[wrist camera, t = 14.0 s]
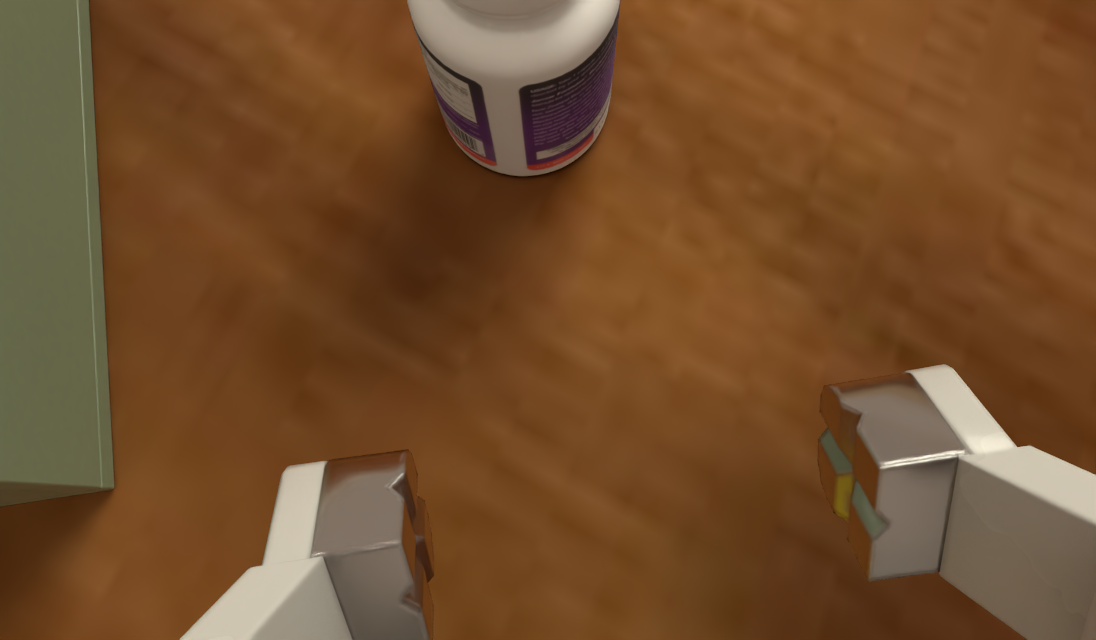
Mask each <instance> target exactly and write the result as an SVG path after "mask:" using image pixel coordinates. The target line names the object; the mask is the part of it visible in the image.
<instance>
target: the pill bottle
mask: <svg viewBox="0 0 1096 640" xmlns="http://www.w3.org/2000/svg"><path fill="white" fill-rule="evenodd" d="M407 1H408V6H409V10H410V15H411V18H412V22H413V25H414V29H415V31H416V35H417V38H418V41H419V44H420V47H421V50H422V54H423V57H424V60H425V63H426V67H427V70H428V73H429V77H430V80H431V83H432V86H433V89H434V92H435V96H436V98H437V102H438V104H439V108H440V111H441V114H442V117H443V119H444V122H445V124H446V127H447V129H448V131H449V133H450V135H451V136H452V138H453V139H454V141H455V142H456V144H457V145H458V146H459V147H460V148H461V150H462V151H463V152H464V153H465V154H467V155H468V156H469V157H470V158H471V159H473V160H474V161H476V162H477V163H479V164H480V165H482V166H484V167H486V168H488V169H491V170H493V171H496V172H499V173H503V174H508V175H514V176H533V175H540V174H545V173H549V172H552V171H555V170H557V169H560V168H562V167H564V166H566V165H568V164H570V163H571V162H573V161H575V160H576V159H577V158H579V157H580V156H581V155H582V154H583V153H584V152H585V151H586V150H588V148H589V147H590V146H591V145H592V144H593V142H594V141H595V140H596V138H597V137H598V135H599V133H600V131H601V129H602V127H603V125H604V123H605V120H606V117H607V112H608V108H609V103H610V97H611V88H612V76H613V65H614V55H615V46H616V37H617V27H618V18H619V8H620V0H407Z"/></svg>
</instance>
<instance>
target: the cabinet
mask: <svg viewBox="0 0 1096 640" xmlns="http://www.w3.org/2000/svg"><path fill="white" fill-rule="evenodd" d="M112 489H114V471H113V452H112V433H111V414H110V395H109V376H108V357H107V339H106V320H105V301H104V282H103V263H102V244H101V225H100V206H99V187H98V168H97V149H96V130H95V111H94V92H93V73H92V54H91V35H90V16H89V0H0V507H1V506H8V505H14V504H21V503H28V502H34V501H41V500H47V499H54V498H60V497H67V496H73V495H80V494H86V493H93V492H99V491H106V490H112Z"/></svg>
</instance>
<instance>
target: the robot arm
mask: <svg viewBox="0 0 1096 640" xmlns="http://www.w3.org/2000/svg"><path fill="white" fill-rule="evenodd" d="M820 413H821V415H822V417H823V419H824V421H825V423H826V424H827V426H828V428H827V429H826V430H825V431H824V433H823V434H822V435H821V436H820V437H819V439H818V466H819V472H820V479H821V483H822V486H823V489H824V492H825V495H826V498H827V500H828V502H829V504H830V506H831V508H832V510H833V512H834V513H835V514H837V515H838V516H840V517H842V518H843V519H845V520H847V521H848V534H847V540H848V542H849V544H850V546H851V548H852V550H853V552H854V554H855V556H856V558H857V560H858V562H859V564H860V566H861V568H862V570H863V572H864V574H865V576H866V578H867V580H868V581H875V580H882V579H890V578H897V577H905V576H913V575H920V574H928V573H936V572H940V573H939V576H941V577H942V578H943V579H945V580H946V581H948V582H949V583H950V584H952V585H953V586H954V587H956V588H957V589H959V590H960V591H961V592H963V593H964V594H965V595H967V596H968V597H970V598H971V599H972V600H974V601H975V602H976V603H978V604H979V605H981V606H982V607H983V608H985V609H986V610H987V611H989V612H990V613H992V614H993V615H994V616H996V617H997V618H998V619H1000V620H1001V621H1002V622H1004V623H1005V624H1007V625H1008V626H1009V627H1011V628H1012V629H1013V630H1015V631H1016V632H1018V633H1019V634H1020V635H1022V636H1023V637H1024V638H1026V639H1027V640H1096V475H1094V474H1092V473H1090V472H1088V471H1085V470H1083V469H1081V468H1079V467H1076V466H1074V465H1072V464H1070V463H1067V462H1065V461H1063V460H1061V459H1058V458H1056V457H1054V456H1052V455H1049V454H1047V453H1045V452H1043V451H1040V450H1038V449H1036V448H1034V447H1031V446H1024V447H1017V446H1016V445H1015V444H1014V443H1013V441H1012V440H1011V439H1010V438H1009V437H1008V435H1007V434H1006V433H1005V432H1004V430H1003V429H1002V428H1001V427H1000V426H999V424H998V423H997V422H996V421H995V419H994V418H993V417H992V416H991V415H990V413H989V412H988V411H987V410H986V408H985V407H984V406H983V405H982V404H981V402H980V401H979V400H978V399H977V397H976V396H975V395H974V394H973V393H972V391H971V390H970V389H969V388H968V386H967V385H966V384H965V383H964V382H963V380H962V379H961V378H960V377H959V375H958V374H957V373H956V372H955V371H954V369H953V368H951V367H949V366H947V365H945V364H943V365H938V366H932V367H926V368H921V369H915V370H909V371H905V372H904V373H898V374H891V375H885V376H879V377H873V378H866V379H860V380H854V381H848V382H842V383H835V384H829V385H824V387H823V390H822V393H821V397H820ZM417 479H418V473H417V470H416V467H415V463H414V460H413V457H412V453H411V452H410V451H409V450H400V451H393V452H385V453H377V454H370V455H362V456H355V457H347V458H340V459H332V460H329V461H321V462H314V463H307V464H299V465H292V466H288V467H287V468H286V470H285V471H284V472H283V474H282V475H281V480H280V484H279V489H278V494H277V498H276V503H275V507H274V512H273V516H272V521H271V526H270V530H269V535H268V539H267V544H266V548H265V553H264V557H263V562H262V566H257V567H251V568H249V569H248V570H247V571H246V572H245V573H244V574H243V575H242V576H241V577H240V578H239V579H238V580H237V581H236V582H235V583H234V584H233V585H232V586H231V587H230V588H229V589H228V590H227V591H226V592H225V593H224V594H223V595H222V596H221V597H220V598H219V599H218V600H217V602H216V603H215V604H214V605H213V606H212V607H211V608H210V609H209V610H208V611H207V612H206V613H205V614H204V615H203V616H202V617H201V618H200V619H199V620H198V621H197V622H196V623H195V624H194V625H193V626H192V627H191V628H190V629H189V630H188V631H187V632H186V633H185V634H184V635H183V636H182V637H181V638H180V639H179V640H433V601H432V597H431V594H430V590H429V586H428V582H429V581H430V580H431V578H432V577H433V576H434V555H433V543H432V533H431V527H430V522H429V516H428V512H427V508H426V504H425V500H423V499H422V498H420V497H419V496H418V495H417Z"/></svg>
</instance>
